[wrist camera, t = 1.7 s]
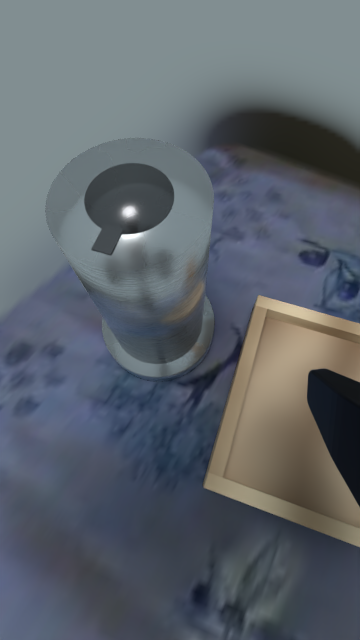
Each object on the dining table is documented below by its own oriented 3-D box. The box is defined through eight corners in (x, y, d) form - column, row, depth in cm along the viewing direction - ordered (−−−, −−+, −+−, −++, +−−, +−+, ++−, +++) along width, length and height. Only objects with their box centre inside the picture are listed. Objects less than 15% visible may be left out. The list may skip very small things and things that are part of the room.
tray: (429, 359, 22) (453, 350, 20) (416, 566, 18) (445, 579, 16) (252, 308, 24) (258, 295, 22) (202, 484, 20) (203, 487, 18)
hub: (225, 298, 25) (259, 145, 13) (194, 396, 22) (198, 321, 10) (131, 271, 26) (78, 106, 14) (89, 361, 23) (-21, 254, 11)
